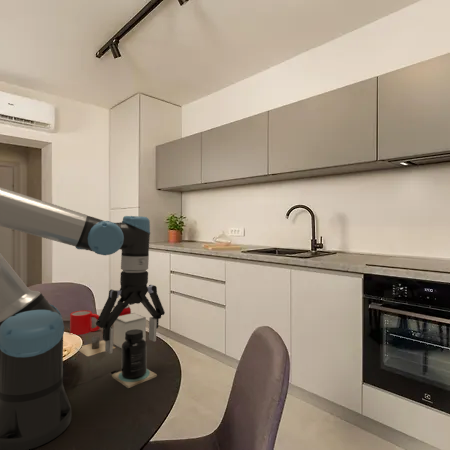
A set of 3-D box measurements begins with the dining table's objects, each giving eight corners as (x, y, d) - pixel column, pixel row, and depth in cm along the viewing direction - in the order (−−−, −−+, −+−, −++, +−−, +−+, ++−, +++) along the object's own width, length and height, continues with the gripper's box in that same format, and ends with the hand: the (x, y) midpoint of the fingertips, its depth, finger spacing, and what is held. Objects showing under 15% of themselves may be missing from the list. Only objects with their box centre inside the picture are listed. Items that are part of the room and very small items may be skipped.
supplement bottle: (149, 369, 93) (150, 328, 92) (141, 380, 86) (141, 336, 86) (127, 367, 93) (127, 327, 93) (117, 379, 86) (117, 335, 86)
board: (87, 358, 101) (87, 343, 101) (74, 349, 108) (74, 336, 108) (116, 349, 109) (116, 336, 109) (102, 341, 115) (103, 329, 115)
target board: (128, 388, 83) (128, 385, 83) (111, 376, 89) (111, 374, 89) (156, 376, 90) (156, 373, 90) (139, 366, 96) (139, 364, 96)
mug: (99, 335, 122) (99, 315, 122) (66, 336, 120) (66, 316, 120) (104, 329, 130) (105, 309, 130) (74, 329, 128) (74, 310, 128)
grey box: (125, 351, 107) (125, 322, 107) (113, 345, 112) (113, 317, 112) (145, 345, 112) (145, 317, 112) (133, 339, 118) (133, 312, 118)
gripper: (97, 276, 78) (94, 362, 78) (177, 269, 96) (175, 339, 96) (84, 272, 83) (81, 353, 83) (163, 266, 101) (160, 332, 101)
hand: (131, 345), depth 89 cm, fingers open, 13 cm apart
